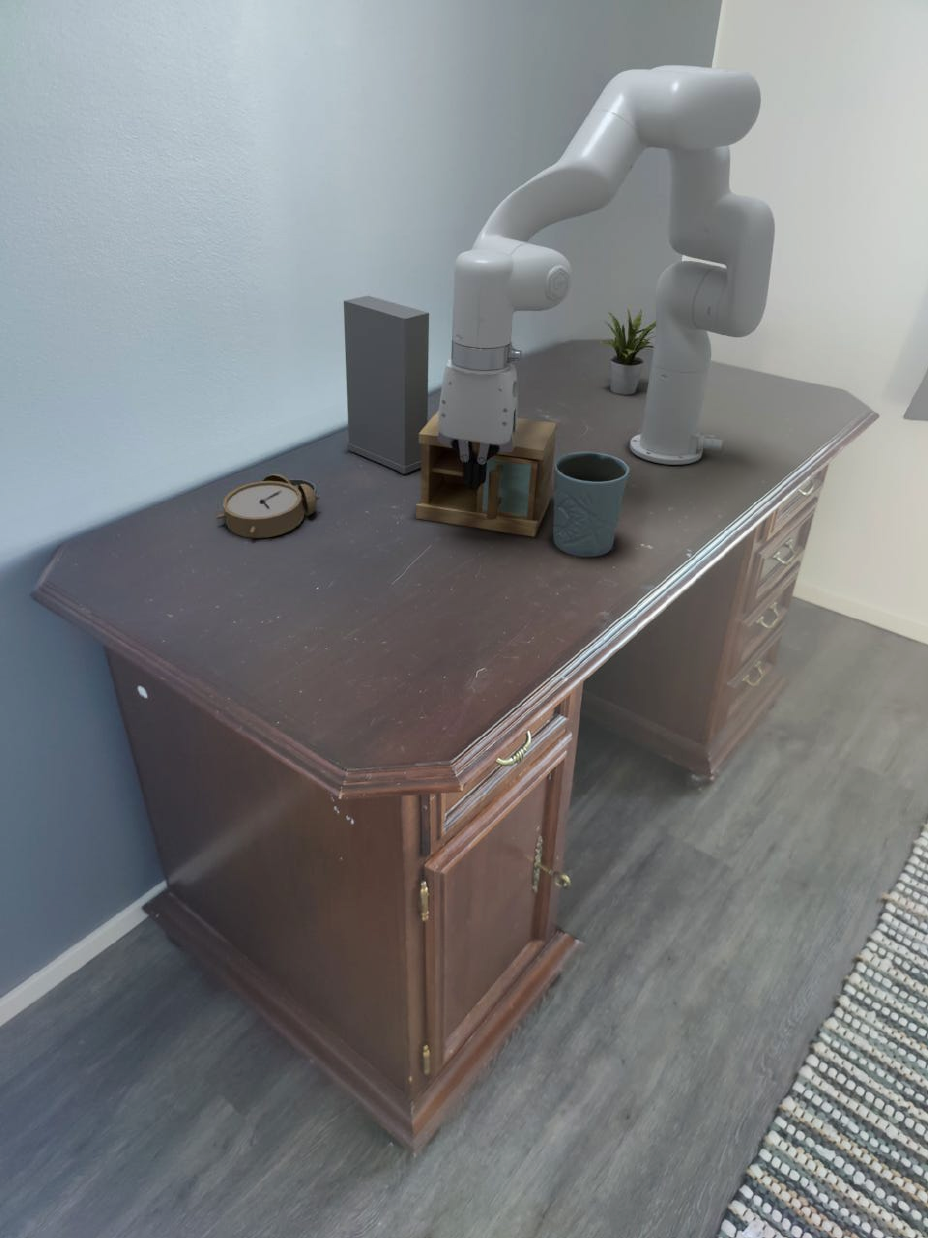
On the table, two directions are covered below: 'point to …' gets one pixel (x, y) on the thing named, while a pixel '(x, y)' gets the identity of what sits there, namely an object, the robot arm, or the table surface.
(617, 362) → the house plant
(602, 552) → the blue-grey pot
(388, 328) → the cassette tape recorder
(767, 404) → the table surface
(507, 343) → the robot arm
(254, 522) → the alarm clock
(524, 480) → the cabinet door
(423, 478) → the curio cabinet
